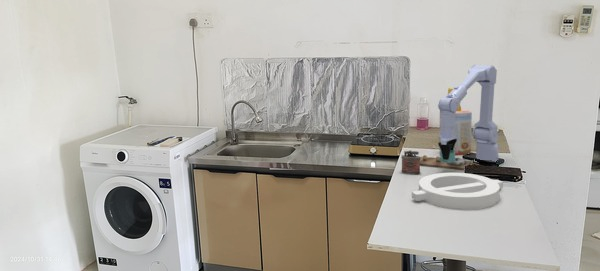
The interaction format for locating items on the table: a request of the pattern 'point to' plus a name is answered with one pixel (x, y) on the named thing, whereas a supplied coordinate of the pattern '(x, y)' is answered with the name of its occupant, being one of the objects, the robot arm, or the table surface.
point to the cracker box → (462, 132)
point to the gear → (451, 157)
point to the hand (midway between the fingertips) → (447, 157)
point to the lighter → (410, 163)
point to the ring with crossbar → (458, 190)
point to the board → (444, 163)
